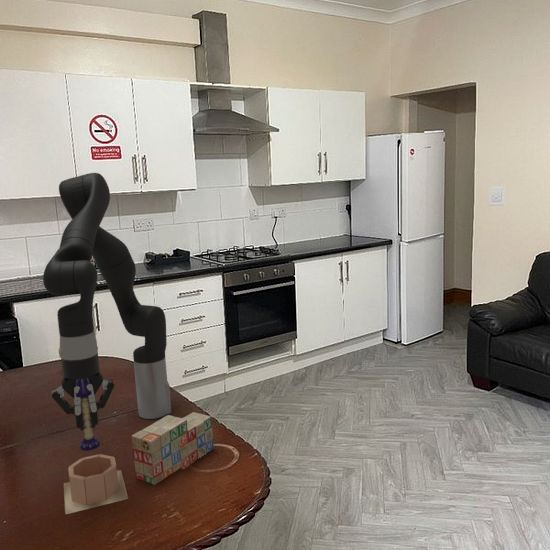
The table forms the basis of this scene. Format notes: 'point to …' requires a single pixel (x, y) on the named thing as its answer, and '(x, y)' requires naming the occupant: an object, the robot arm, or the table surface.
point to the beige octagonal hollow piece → (93, 479)
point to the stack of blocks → (171, 445)
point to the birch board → (75, 507)
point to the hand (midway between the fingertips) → (87, 427)
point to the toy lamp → (86, 416)
